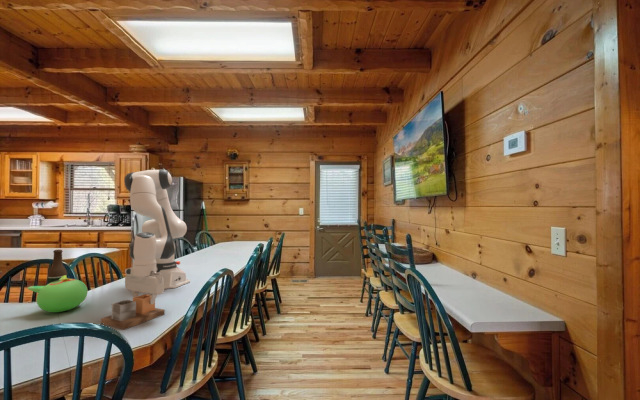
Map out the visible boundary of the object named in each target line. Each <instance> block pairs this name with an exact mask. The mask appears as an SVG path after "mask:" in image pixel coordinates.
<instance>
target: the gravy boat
mask: <svg viewBox="0 0 640 400" xmlns="http://www.w3.org/2000/svg"><path fill="white" fill-rule="evenodd" d="M86 285H87V284H85V282H83V281H81V280H79V279H77V278H68V275H67V276H66V275H64V276H62V277H61V278H60V279H59V280H57V281H54V282H52V283H49V284H48V283H46V285H32V286H28V287H27V290H29V291H31V292H35V293H37V295H36V304H37V305H38V307H39V309H41V310H43V311H45V312H48V313H61V312H66V311H70V310H72V309H74V308H76V307H78V306H79V305H81V304H82V303H83V302H84V301H85V300H86V298H87V295H88V286H86Z"/></svg>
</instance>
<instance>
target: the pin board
mask: <svg viewBox="0 0 640 400" xmlns="http://www.w3.org/2000/svg"><path fill="white" fill-rule="evenodd" d="M163 315H165V309H162V308H157V307H155V310H152V311H149V312H146V313H144V314H140V313H136V302H135V301H133V300H129V299H124V300H120V301H117V302H113V303H111V314H110V315H107V316H105V317H102V318H100V324H101V323H104V324H103V325H105V326H109V325H110V326H109V327H113V328H117V329H121V330H126V329H129V328H133V327H134V326H137V325H140V324H143V323H146V322H147V321H151V320H154V319H156V318H158V317H162V316H163Z"/></svg>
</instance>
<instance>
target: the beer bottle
mask: <svg viewBox="0 0 640 400" xmlns="http://www.w3.org/2000/svg"><path fill="white" fill-rule="evenodd" d="M52 253H53V257H52V258H53V259H52V266H51V267H50V268H49V270H48V272H47V284H49V283H52V282H54V281H57V280H59V279H60V278H61V277H62V276H64V275H66V276H67V277H68V270H66V267H65V266H64V264H63V263H64V262H63V249H55V250H53V252H52Z"/></svg>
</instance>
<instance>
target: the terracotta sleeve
mask: <svg viewBox="0 0 640 400" xmlns="http://www.w3.org/2000/svg"><path fill="white" fill-rule="evenodd" d="M150 299H151V294H147V293H143V294H141V295H139V296H137V297H132V301H135V302H136V313H140V314H144V313H146V312H149V311H152V310H155V308H156V302H155V303H154V304H149V300H150Z"/></svg>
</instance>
